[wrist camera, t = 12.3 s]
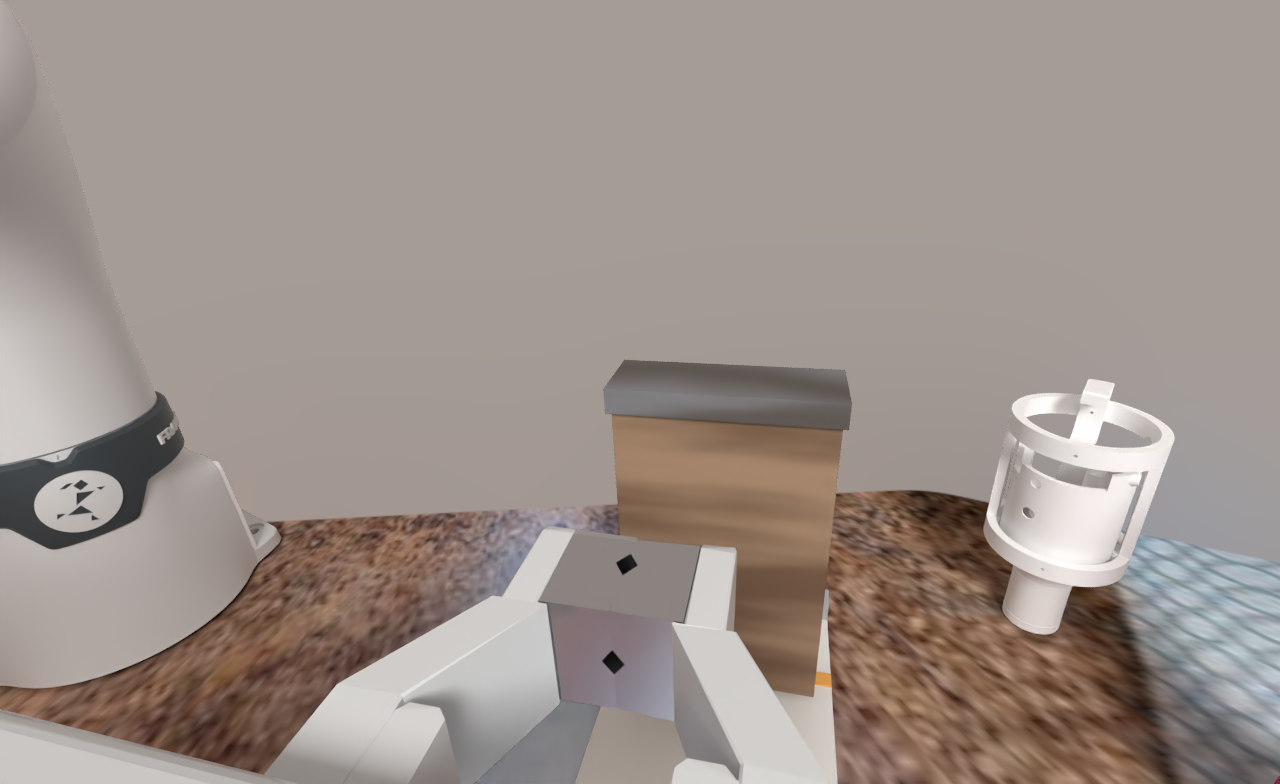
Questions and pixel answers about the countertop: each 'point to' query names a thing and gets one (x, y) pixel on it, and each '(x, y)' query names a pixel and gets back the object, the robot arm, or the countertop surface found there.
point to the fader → (739, 487)
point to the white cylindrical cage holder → (1070, 501)
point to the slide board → (651, 748)
